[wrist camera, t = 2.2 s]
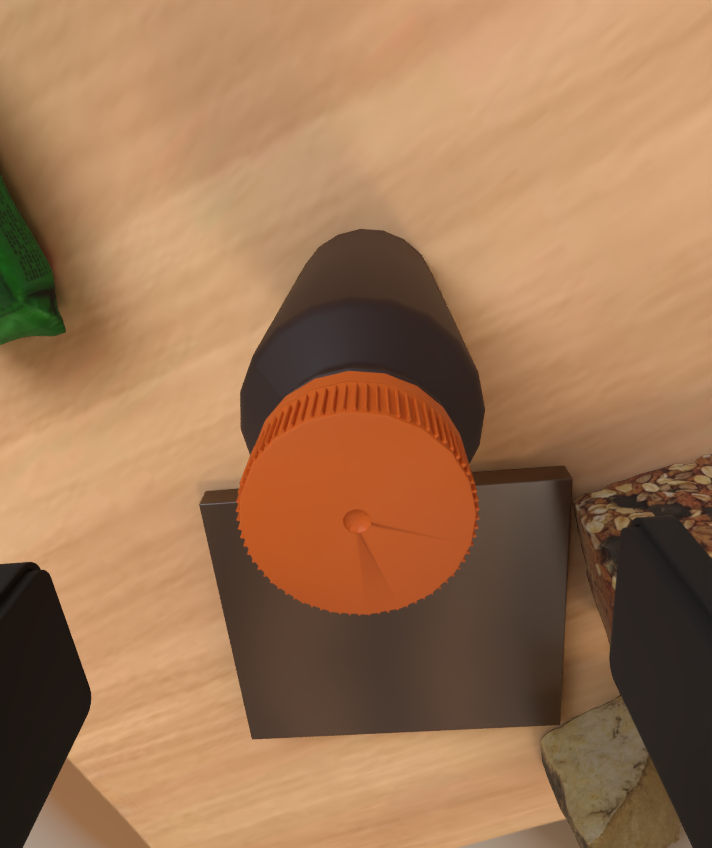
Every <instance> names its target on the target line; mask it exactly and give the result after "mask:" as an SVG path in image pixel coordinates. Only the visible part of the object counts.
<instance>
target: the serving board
mask: <svg viewBox="0 0 712 848" xmlns="http://www.w3.org/2000/svg"><path fill="white" fill-rule="evenodd" d="M472 476H473V479H474V482H475V486H476V489H477V496H478V499H479V501H478V506H479V509H480V510H479V511H477V512H478V515H479V520H476V521H477V524H478V529H475V533H476V537H475V538H472V541H473V545H474V546H470V547H469V551H470V554H465V556H464V557H465V561H466V562H461V563H460V570H458V569H457V570H456V572H455V573H454V577H453V576H450V577H449V578H448V579H447V580H448V583H445V582H444V583H443V584H441V585H440V586H441V589H438V588H437V589H436V590H435V591H434V592H433V595H432V594H430V595H428V596H426V597H425V599H422V598H421V599H419V600H417V603H416V604H415V603H414V602H413V603H411V604H409V605H408V607H403V608H400V609H399V610H396V609H395V610H389V613H388V612H387V611H384V612H380V614H378V613H373V614H370V615H366V614H361V615H360V616H359V615H358V614H351V615H349V614H348V613H341V614H339V613H337V612H331V613H330V612H329V611H328V610H325V609H322V610H320V608H319V607H316V606H313V607H311V605H309V604H306V603H304V604H302V602H300V601H299V600H297V599H293V596H291V595H290V594H287V595H285V591H284V590H282V589H281V588H280V589H277V588H278V586H276V585H275V584H273V583H270V581H271V580H270V579H269V578H268V577H267V576H266V577H264V572H263V571H262V570H257V569H258V565H257V563H256V562H254V563H253V562H252V560H253V559H252V557H251V555H247V553H248V550H249V549H248V547H244V546H243V545H244V542H245V538H240V536H241V533H242V531H241V530H238V527H239V524H240V521H237V520H236V519H237V517H238V514H239V512H236V509H237V506H238V503H237V502H236V501H237V498H238V495H239V494H238V493H237V492H238V490H239V489H230V490H216V491H206V492H205V494H204V496H203V498H202V500H201V502H200V504H199V506H200V510H201V515H202V519H203V523H204V528H205V532H206V537H207V541H208V546H209V550H210V555H211V559H212V564H213V568H214V572H215V577H216V581H217V586H218V590H219V595H220V599H221V604H222V608H223V612H224V617H225V621H226V626H227V630H228V635H229V639H230V644H231V648H232V653H233V657H234V661H235V666H236V670H237V675H238V679H239V684H240V688H241V693H242V697H243V701H244V706H245V710H246V715H247V719H248V724H249V728H250V733H251V737H252V739H270V738H291V737H313V736H334V735H355V734H376V733H398V732H419V731H440V730H461V729H483V728H504V727H525V726H546V725H560V713H561V693H562V674H563V654H564V634H565V615H566V595H567V575H568V555H569V536H570V516H571V496H572V477H571V476H570V474H569V472H568V471H567V469H566V467H565V466H554V467H540V468H526V469H512V470H498V471H484V472H472Z"/></svg>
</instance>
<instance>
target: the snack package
mask: <svg viewBox="0 0 712 848" xmlns="http://www.w3.org/2000/svg"><path fill="white" fill-rule="evenodd" d="M65 332H66V330H65V326H64V323H63V319H62V317H61V315H60V313H59V310H58V306H57V300H56V293H55V284H54V278H53V273H52V269H51V267H50V265H49V263H48V261H47V259H46V257H45V256H44V254H43V252H42V250H41V249H40V247H39V245H38V243H37V242H36V240H35V238H34V236H33V235H32V233H31V231H30V229H29V228H28V226H27V224H26V222H25V221H24V219H23V217H22V215H21V214H20V212H19V211H18V209H17V207H16V205H15V203H14V201H13V200H12V198H11V196H10V194H9V192H8V190H7V188H6V185H5V183H4V181H3V179H2V177H1V174H0V345H2V344H4V343H7V342H9V341H12V340H15V339H19V338H23V337H29V336H56V335H59V334H62V333H65Z"/></svg>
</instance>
